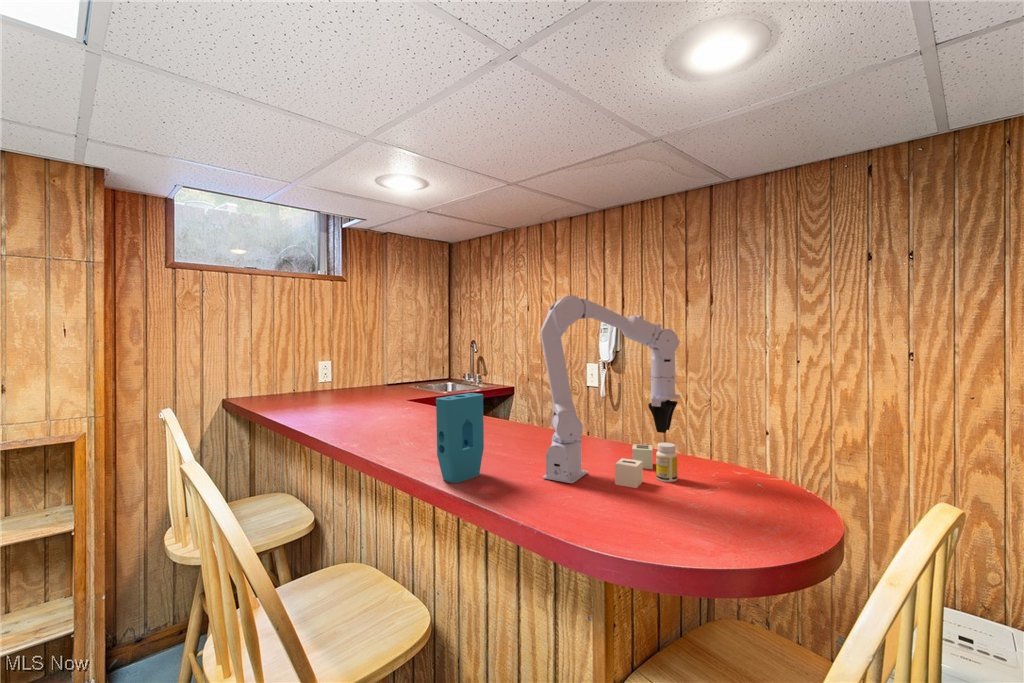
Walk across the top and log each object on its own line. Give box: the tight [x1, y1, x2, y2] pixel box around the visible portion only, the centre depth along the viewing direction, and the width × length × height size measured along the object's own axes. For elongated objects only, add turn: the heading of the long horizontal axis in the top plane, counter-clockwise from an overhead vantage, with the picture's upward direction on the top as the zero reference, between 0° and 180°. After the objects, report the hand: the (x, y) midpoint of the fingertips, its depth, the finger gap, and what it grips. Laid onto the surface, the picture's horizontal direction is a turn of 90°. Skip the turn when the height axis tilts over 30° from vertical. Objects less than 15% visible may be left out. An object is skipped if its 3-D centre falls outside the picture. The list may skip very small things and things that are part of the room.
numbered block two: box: [631, 443, 654, 470], centre depth 121 cm, size 5×5×5 cm
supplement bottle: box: [655, 442, 678, 483], centre depth 110 cm, size 5×5×8 cm
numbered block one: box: [614, 457, 644, 489], centre depth 108 cm, size 5×5×5 cm
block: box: [435, 392, 485, 484], centre depth 113 cm, size 12×5×20 cm, turn 138°
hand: (663, 431), depth 115 cm, fingers open, 3 cm apart
